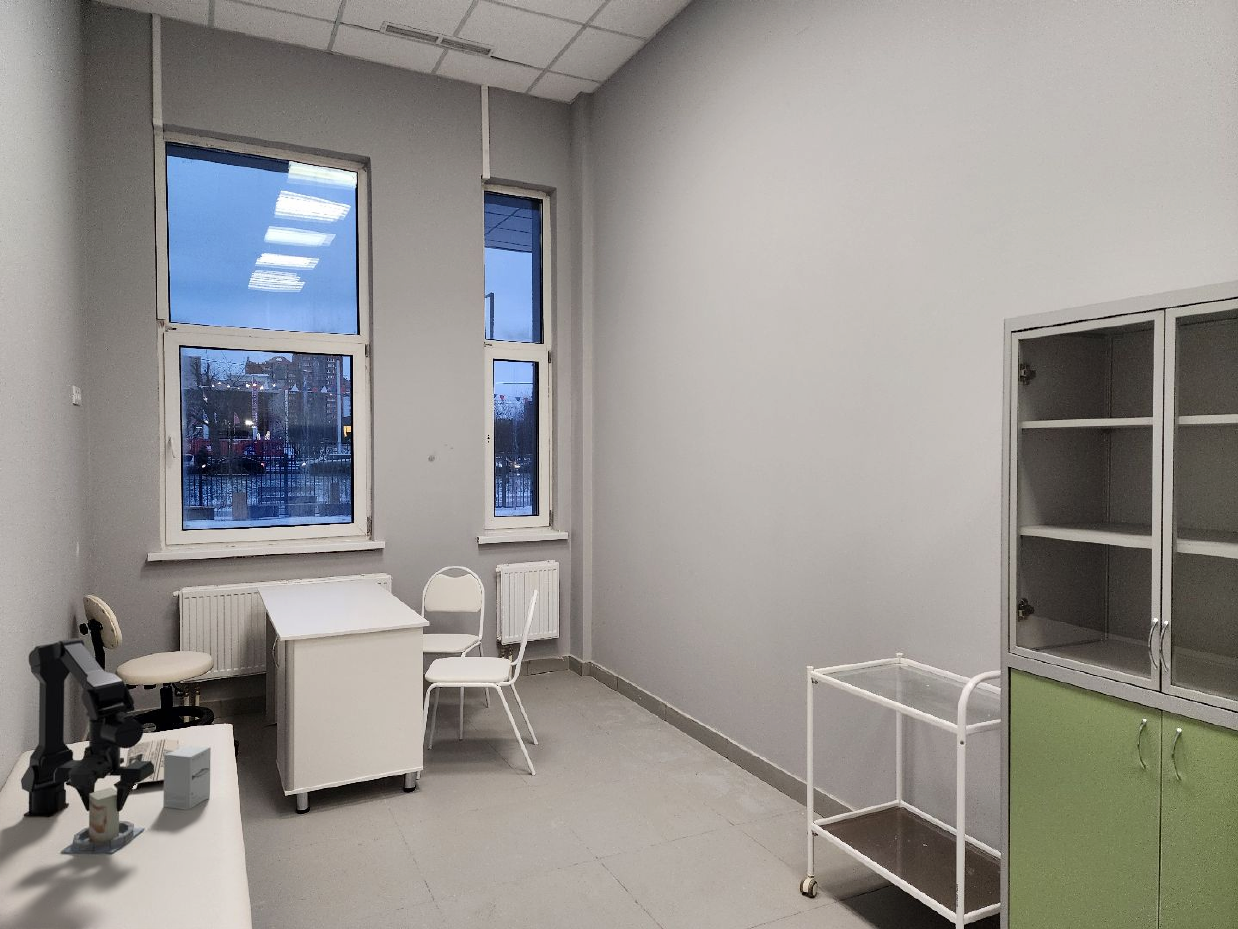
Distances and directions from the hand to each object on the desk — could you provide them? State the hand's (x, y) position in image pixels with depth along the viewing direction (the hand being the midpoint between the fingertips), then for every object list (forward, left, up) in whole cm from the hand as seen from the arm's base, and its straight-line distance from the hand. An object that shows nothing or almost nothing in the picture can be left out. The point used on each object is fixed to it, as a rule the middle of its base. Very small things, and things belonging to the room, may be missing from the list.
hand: (104, 810), depth 173 cm
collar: (0, 0, -7) cm, 7 cm away
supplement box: (+7, +20, -7) cm, 22 cm away
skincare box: (0, 0, -6) cm, 6 cm away
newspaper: (-15, +42, -7) cm, 45 cm away
